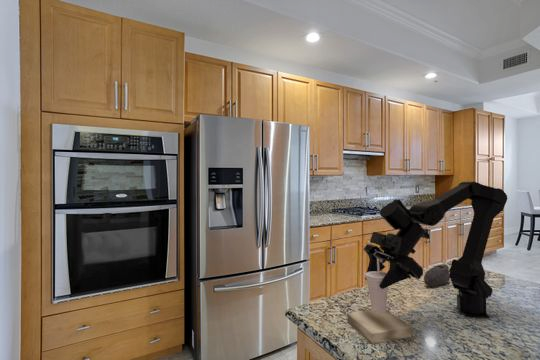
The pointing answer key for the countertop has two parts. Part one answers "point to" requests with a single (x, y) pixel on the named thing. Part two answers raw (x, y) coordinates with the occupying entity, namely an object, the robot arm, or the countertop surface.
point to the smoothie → (377, 290)
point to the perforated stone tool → (437, 275)
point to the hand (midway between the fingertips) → (373, 283)
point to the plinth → (379, 326)
